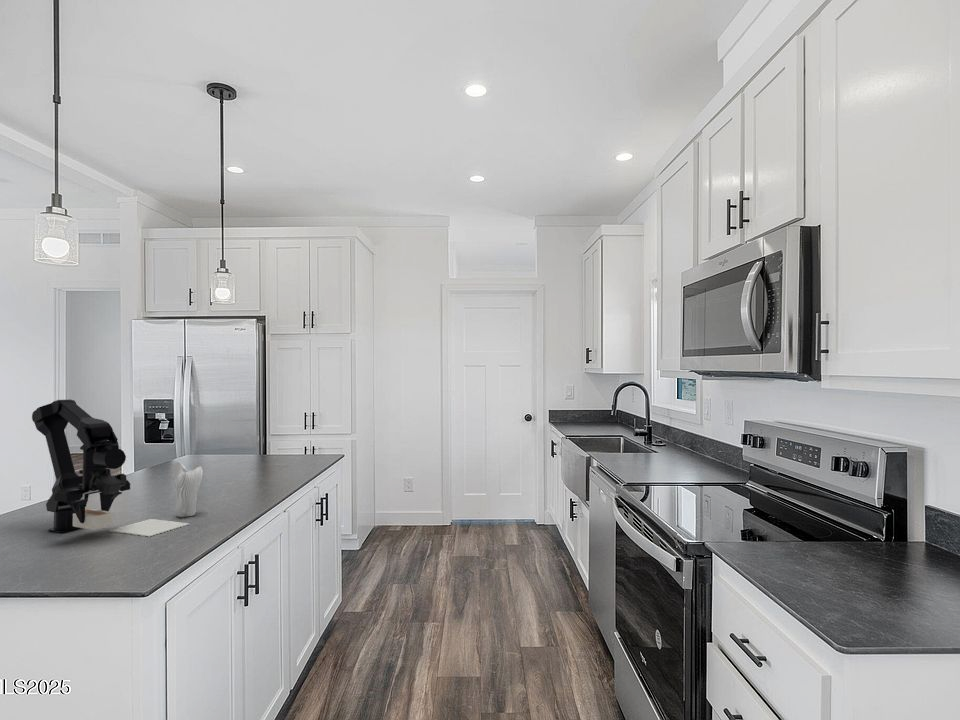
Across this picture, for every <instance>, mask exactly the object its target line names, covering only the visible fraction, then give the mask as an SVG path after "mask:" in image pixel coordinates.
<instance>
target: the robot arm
mask: <svg viewBox="0 0 960 720" xmlns="http://www.w3.org/2000/svg"><path fill="white" fill-rule="evenodd" d="M31 420H32V421H33V423H34V426H35V428H36V430H37V431H38V432H40V433H41V434H42V435H43V436H45V441H46V445H47V448H48V449H47V450H48V452H49V456H50V460H51V465H52V468H53V472H54V476H55V482H54V484H53V486H52V488H51V495H50V497H49V498H48V500H47V502H46V503H45V506H46V512H51V513H53V527H51V528H49V529H47V530H48V532H55V533H61V534H64V533H67V532H71V531H75V530H79V529H81V528H79V527H74V526H73V514H74V513H75V514H76V516H77V518H78V519H79V521H80V523H84V521H85V510H86V507H87V505H88V502H89V496H90V495H93V494H99V501H100V510H103V511H109V512H110V509H111V507H112V504H113V503H114V501H115V499H116V498H117V497H118V496H119V495H122V494H123V492H125V491H129V490H131V483H130V482H131V481H129V480H128V479H127V474H125V473H120V474H117V475H112V474H111V469H112V470H116V469H119V468H121V467H122V466H123V465H124V464H125V462H126V461H127V459H126V458H127V456H126V454H125V452H124V450H122V449H121V448H120V444H119V442H118V441H119V439H118V437H117V436H116V434H115V432H114V429H113V426H111V424H110V423H109V422H108V421H105V420H104V419H100V418H95V417H92V416H91V415H90V414H89V413H87V411H85V410H84V409H83V408H81V406H79V405H78V404H77V402H76V400H73V399H56V400H54V401H52V402H51V403H48V404H44V405H42V406H39V407H38V408H36V409H35V410H34V411H33V412H32V414H31ZM68 423H69V424H70V425H72V427H74V428H75V429H76V431H77V432H76V436H77V438H78V439H79V440H80V442H81V443H82V445H80V447H79V449H80V450H82V469H79V472H78V473H76V469H75V466H74V462H73V458H72V455H71V451H70V446H69V443H68V438H67V434H66V432H65V430H66V428H67V426H68ZM78 474H80V475H78Z"/></svg>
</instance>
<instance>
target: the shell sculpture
mask: <svg viewBox="0 0 960 720" xmlns="http://www.w3.org/2000/svg"><path fill="white" fill-rule="evenodd" d="M171 464H172V466H171V467H172V470H171V473H172V474H171V475H172V480H173V481H174V486H175V510H174V513H175V515H176V516H177V517H179V518H186V517H187V518H188V517H192V516H194V515H195V514H196V511H197V510H196V509H197V496H198V492H199V489H200V487H201V484H202V479H203V473H204V470H203V468H202V466H201V465H200V466H197V467H196V468H194V469H193V470H190V469H187V468H186V467H185V465H184V464H183V463H182V461H180V460H179V461H174V462H173V463H171Z"/></svg>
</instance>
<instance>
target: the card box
mask: <svg viewBox="0 0 960 720" xmlns="http://www.w3.org/2000/svg"><path fill="white" fill-rule="evenodd" d="M114 525H115V512H114V511H110V510H109V511H103V510H101V509H96V508H93V509H85V521H84V523H80V521H79V519H78V518H77V516H76V514H75V513H74V514H73V526H74V527H79V528H80V529H86V530H91V531H94V530H98V529H102V528H105V527H106V528H107V527H111V526H114Z"/></svg>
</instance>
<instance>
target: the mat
mask: <svg viewBox="0 0 960 720" xmlns="http://www.w3.org/2000/svg"><path fill="white" fill-rule="evenodd" d="M187 525H188V526H190V523H188V522H178V521H173V520H172V521H170V520H163V519H156V518H155V519H154V518H149V519H146V520H142V521H139V522H135V523H134V522H133V523H131V524H128V525H123V526H120V527H116V528H113V529H112V528H111V529H109V532H111V533H116V532H117V534H123V533H126V534H125V535H130V534H132V536H137V535H140V537H145V536H148V537H147V538H151V537H150V536H152V537H154V536H153V535H155V536H157V535H156V534H158V535H161V534H160V533H162V534H165V533H167V531H168V532H171V531H174V529H175V530H178V529H181V528H184V527H187ZM180 527H181V528H180ZM177 528H178V529H177ZM170 530H171V531H170ZM164 532H165V533H164Z"/></svg>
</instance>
